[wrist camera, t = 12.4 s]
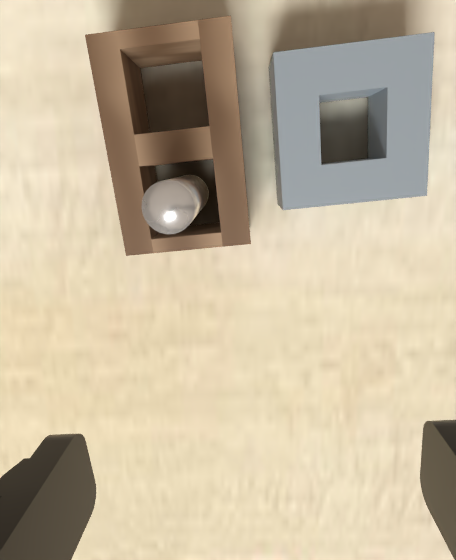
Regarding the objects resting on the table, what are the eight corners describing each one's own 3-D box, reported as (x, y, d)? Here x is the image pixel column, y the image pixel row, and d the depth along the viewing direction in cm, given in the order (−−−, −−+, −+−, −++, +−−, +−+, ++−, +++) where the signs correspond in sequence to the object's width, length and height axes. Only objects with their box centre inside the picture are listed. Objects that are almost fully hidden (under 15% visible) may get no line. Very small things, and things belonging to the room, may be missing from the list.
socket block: (407, 50, 28) (434, 32, 24) (403, 191, 31) (426, 195, 27) (268, 67, 28) (273, 52, 24) (277, 204, 31) (283, 209, 27)
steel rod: (206, 172, 31) (191, 177, 21) (210, 210, 31) (197, 231, 22) (169, 176, 31) (137, 183, 21) (174, 214, 32) (146, 236, 22)
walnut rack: (232, 40, 28) (230, 15, 23) (249, 231, 32) (250, 243, 27) (111, 56, 28) (85, 35, 24) (143, 241, 32) (126, 255, 28)
